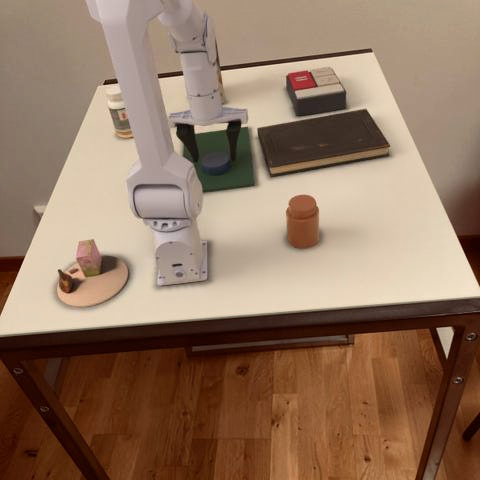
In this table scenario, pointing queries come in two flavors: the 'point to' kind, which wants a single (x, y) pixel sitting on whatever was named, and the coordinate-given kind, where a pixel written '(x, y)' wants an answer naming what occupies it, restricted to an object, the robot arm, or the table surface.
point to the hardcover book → (321, 142)
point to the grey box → (315, 91)
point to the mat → (240, 167)
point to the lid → (216, 163)
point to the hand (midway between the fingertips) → (215, 158)
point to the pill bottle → (118, 112)
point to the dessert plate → (92, 277)
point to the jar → (302, 221)
